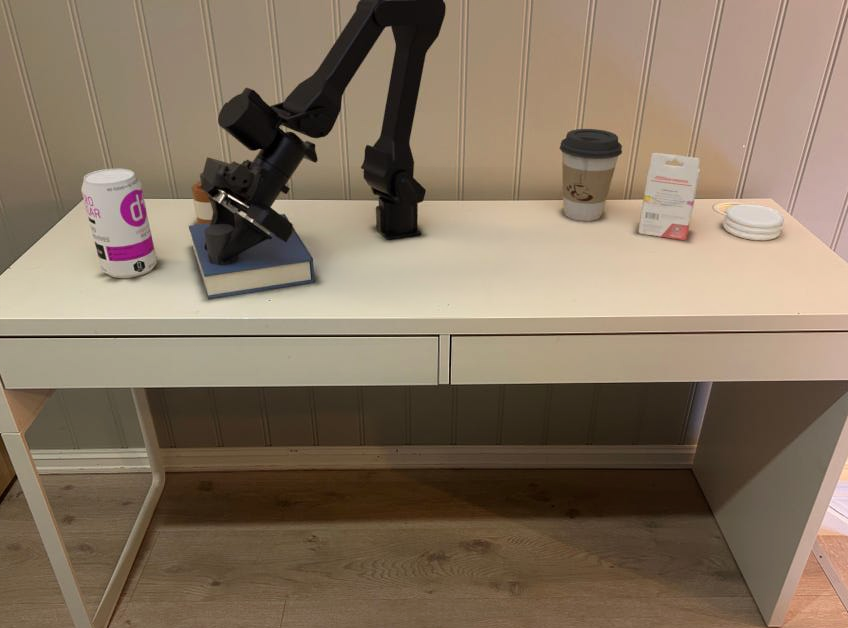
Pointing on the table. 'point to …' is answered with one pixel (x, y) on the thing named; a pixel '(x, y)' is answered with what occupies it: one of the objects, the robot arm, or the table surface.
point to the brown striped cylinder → (202, 203)
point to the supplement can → (119, 222)
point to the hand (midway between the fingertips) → (214, 255)
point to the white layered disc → (753, 222)
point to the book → (254, 265)
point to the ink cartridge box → (669, 196)
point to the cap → (218, 242)
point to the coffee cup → (588, 171)
